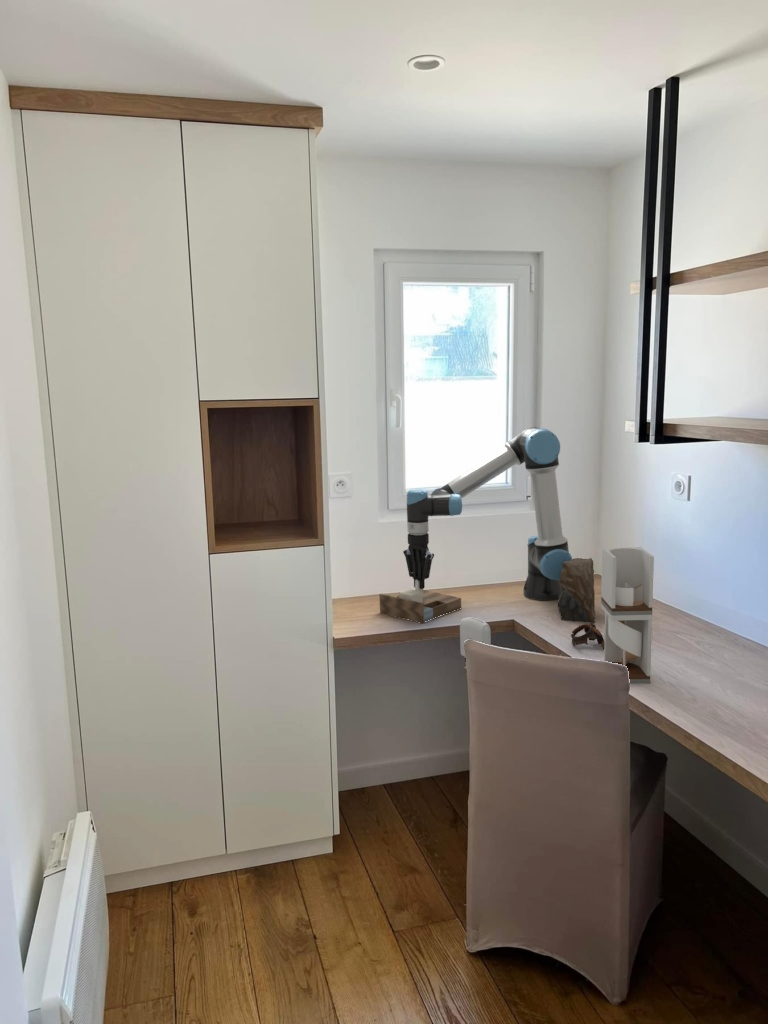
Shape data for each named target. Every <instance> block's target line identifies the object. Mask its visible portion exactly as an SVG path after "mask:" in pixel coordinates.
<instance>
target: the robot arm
mask: <svg viewBox="0 0 768 1024" xmlns="http://www.w3.org/2000/svg"><path fill="white" fill-rule="evenodd" d="M560 452H561V443H560V440H559V438H558V436H557V435H556V434H555V432H553V431H551V430H548V429H547V428H540V427H537V426H534V427H533V426H532V427H528V428H526V429H525V430H522V431H521V432H520V433H519V434H517V435H516V436H514V437H513V438H511V439H510V440H509V441H507V442H506V443H505V444H504V447H503V448H501V449H499V450H498V451H496V452H495V453H493V454H492V455H490V456H488V457H487V458H485V459H484V460H482V461H481V462H479V463H478V464H475V465H474V466H473V467H471V468H470V469H468V470H466V471H465V472H463V473H462V474H460V475H459V476H457V477H456V478H454V479H452V480H451V481H449V482H448V483H446V484H445V485H443V486H442V487H437V488H435V489H434V490H433V491H431V493H430V494H429V492H428V490H427V489H422V488H421V489H420V488H418V489H417V488H416V489H411V490H408V491H407V493H406V521H407V543H408V548H407V549H404V550H403V551H402V552H403V555H404V557H405V561H406V566H407V567H406V568H407V572H408V576H409V577H410V578H412V579H413V588H415V589H414V590H416V591H421V592H423V590H424V589H425V588H426V587H425V584H426V583H425V580H427V579H429V578H430V575H431V568H432V563H433V559H434V557H435V553H431V552H430V550H429V547H428V545H429V543H430V541H429V539H430V538H429V537H430V536H429V533H428V532H429V531H430V530H429V517H439V516H440V517H442V516H443V517H444V516H445V517H447V516H449V517H450V516H451V517H453V516H459V515H461V514H462V511H463V500H462V499H463V498H465V497H466V496H468V495H469V494H471V493H472V492H475V491H476V490H478V489H479V488H480V487H482V486H483V485H485V484H487V483H488V482H490V481H492V480H493V479H495V478H497V477H498V476H499V475H501V474H503V473H504V472H506V471H507V470H510V469H511V468H513V466H515V465H517V466H518V465H519V466H520V465H522V464H524V465H525V470H526V471H528V472H529V474H530V479H531V488H532V496H533V504H534V512H535V520H536V529H537V535H535V536H534V535H533V536H530V537H529V538H528V540H527V577H526V580H525V583H524V586H523V591H522V592H523V593H522V594H523V596H524V597H525V598H528V599H531V600H538V601H539V600H540V601H552V600H559V594H560V593H561V591H562V588H561V586H560V582H559V578H560V573H561V570H562V568H563V564H562V563H563V562H564V561H570V560H573V559H574V558H573V557H572V555H571V553H570V552H569V544H568V543H569V542H568V539H567V538H566V537H565V536H564V534H563V528H562V519H561V510H560V501H559V493H558V492H559V491H558V484H557V477H556V476H557V475H556V469H557V468H559V467H558V466H559V465H560V464H559V455H560ZM423 596H424V595H423Z"/></svg>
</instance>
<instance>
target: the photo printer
mask: <svg viewBox="0 0 768 1024" xmlns="http://www.w3.org/2000/svg"><path fill="white" fill-rule="evenodd" d="M491 635H492V634H491V626H490V624H488V623H487V622H486V621H484V620H483V619H481V618H477V617H471V616H468V617H464V618H462V619H461V620H460V623H459V642H460V643H459V645H460V646H459V647H460V648H459V649H460V650H459V651H460V655H461V656H462V657H465V650H464V641H465V640H467V639H471V640H477V641H479V642H482V643H485V644H489V645H491V643H492V642H491V637H492V636H491ZM491 646H492V645H491ZM465 658H466V657H465Z"/></svg>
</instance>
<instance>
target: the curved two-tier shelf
mask: <svg viewBox="0 0 768 1024" xmlns="http://www.w3.org/2000/svg"><path fill="white" fill-rule="evenodd" d="M654 561H655V556H654V555H652V554H651V553H650V552H649V551H647V550H645V549H644V548H643V547H642V546H640V547H637V546H636V547H633V546H632V547H604V548H603V547H602V548H601V581H600V582H601V587H600V588H601V592H600V593H601V594H600V595H601V596H600V609H601V610H602V611H603V612H604V641H605V649H604V650H603V652H604V655H603V656H604V659H603V661H608V662H612V663H618V664H622V665H625V666H627V668H628V671H629V679H630V683H629V684H651V674H652V673H651V671H652V670H651V668H652V666H651V665H652V637H653V636H652V634H653V631H652V630H653V604H654V603H653V601H654V599H653V597H654V595H653V594H654V566H655V565H654V564H655V563H654Z"/></svg>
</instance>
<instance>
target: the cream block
mask: <svg viewBox="0 0 768 1024" xmlns="http://www.w3.org/2000/svg"><path fill="white" fill-rule="evenodd" d="M398 596H399V598H403V599H407V600H411V601H416V602H420V603H423V592H421V591H416V590H415V589H411V588H409V589H406V590H403V591H401V592H400V591H399V592H398Z"/></svg>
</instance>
